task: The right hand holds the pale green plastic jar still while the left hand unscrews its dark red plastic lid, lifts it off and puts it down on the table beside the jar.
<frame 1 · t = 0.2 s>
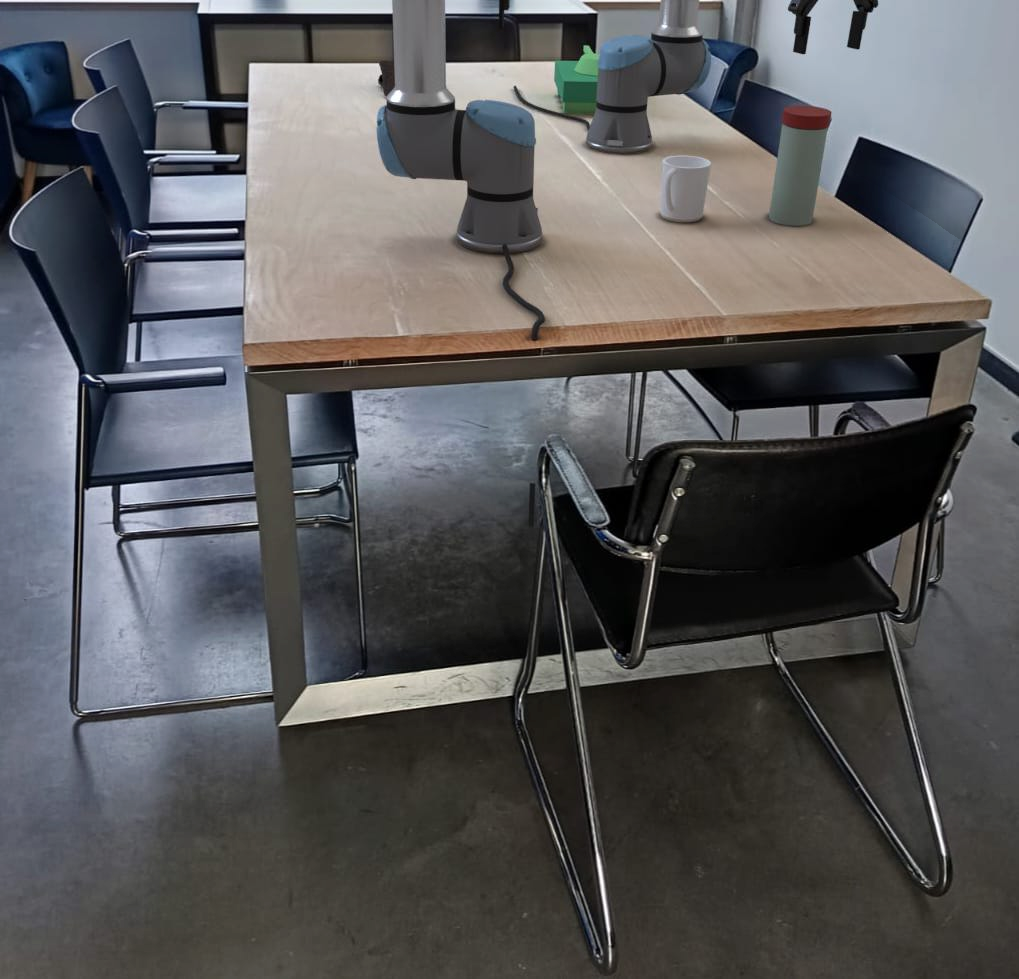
left hand: (468, 26, 224), 28 cm above the table, tool pointing down, fingers open, 13 cm apart
right hand: (826, 50, 209), 28 cm above the table, tool pointing down, fingers open, 13 cm apart
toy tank: (589, 102, 293), on the table
axe head: (403, 91, 300), on the table
lid: (807, 112, 199), point 20 cm above the table, screwed on, not yet turned
jar: (790, 219, 210), on the table
mug: (678, 218, 209), on the table
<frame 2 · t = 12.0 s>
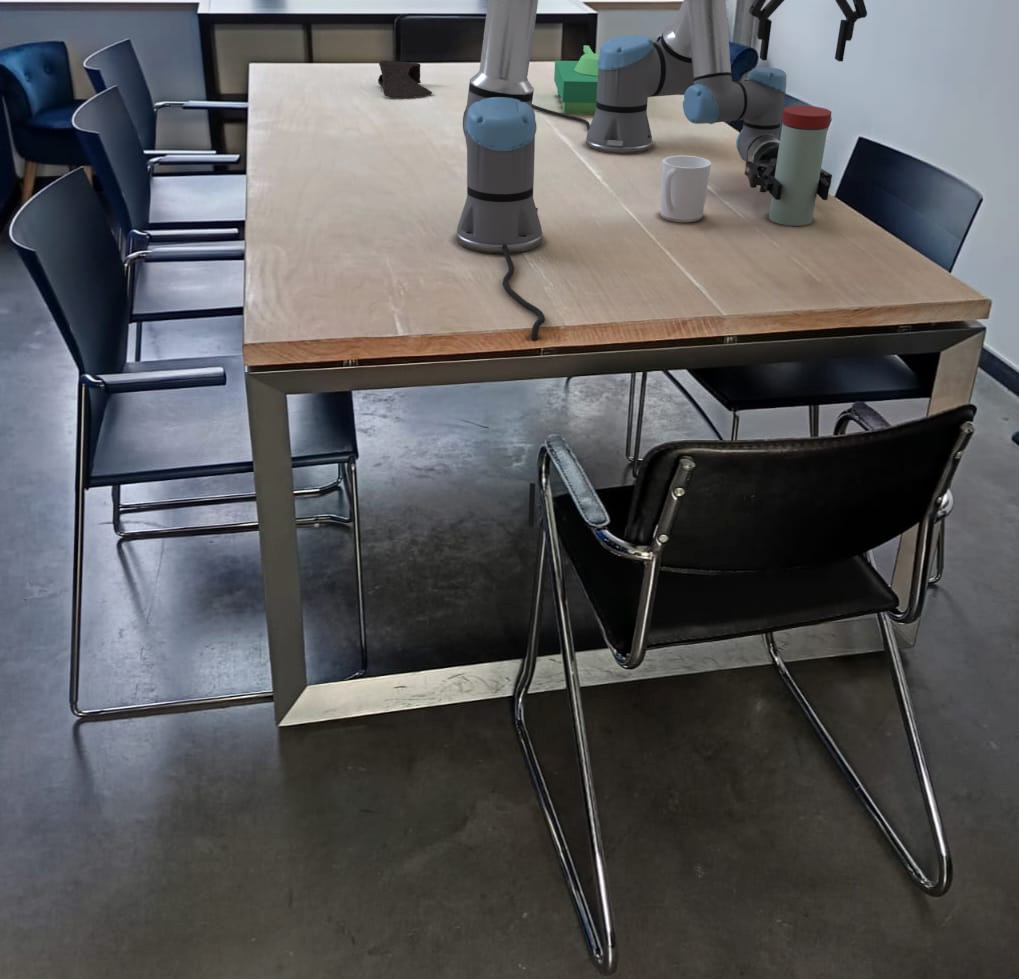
left hand: (800, 59, 196), 29 cm above the table, tool pointing down, fingers open, 13 cm apart
right hand: (802, 192, 202), 7 cm above the table, tool horizontal, fingers closed on jar, 8 cm apart
jar: (790, 219, 210), on the table, touching right hand
everything else where it was.
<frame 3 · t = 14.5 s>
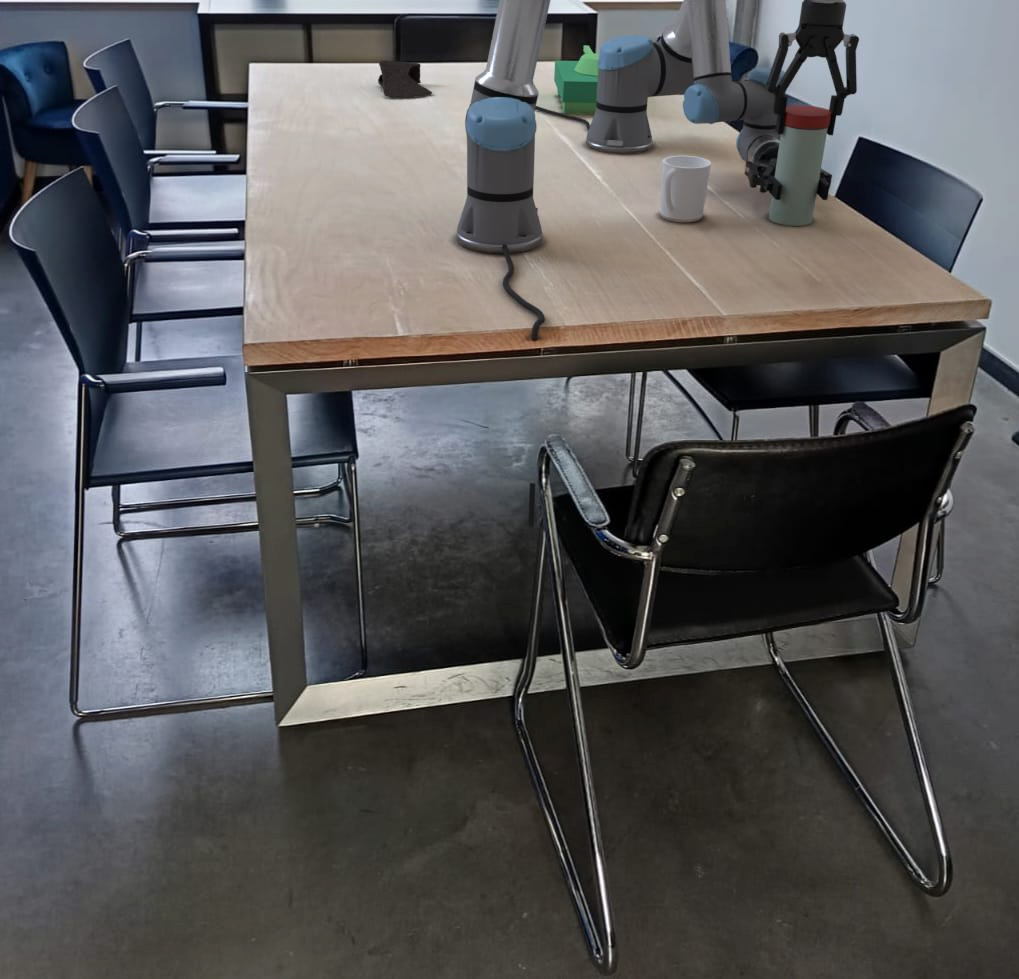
left hand: (803, 132, 201), 16 cm above the table, tool pointing down, fingers closed on lid, 9 cm apart
right hand: (802, 192, 202), 6 cm above the table, tool horizontal, fingers closed on jar, 8 cm apart
lid: (807, 112, 199), point 20 cm above the table, screwed on, not yet turned, touching left hand
jar: (790, 219, 210), on the table, touching right hand
everything else where it was.
when the left hand's fingers open (16 cm above the table, at t = 16.0 s): lid stays where it is, point 20 cm above the table.
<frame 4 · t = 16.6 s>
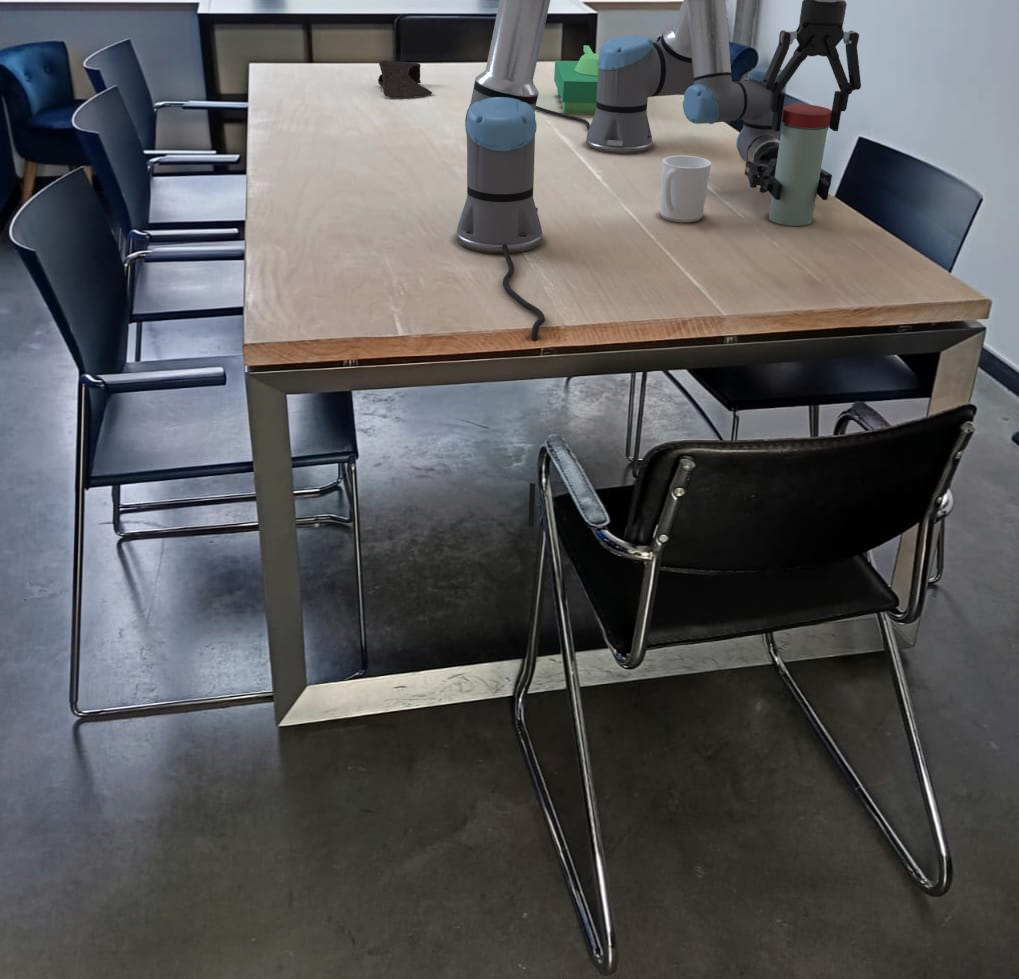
left hand: (804, 129, 201), 17 cm above the table, tool pointing down, fingers open, 10 cm apart
right hand: (802, 192, 202), 6 cm above the table, tool horizontal, fingers closed on jar, 8 cm apart
lid: (807, 111, 199), point 20 cm above the table, turned 73° so far, risen 0.2 cm, still on its thread
jar: (790, 219, 210), on the table, touching right hand
everything else where it was.
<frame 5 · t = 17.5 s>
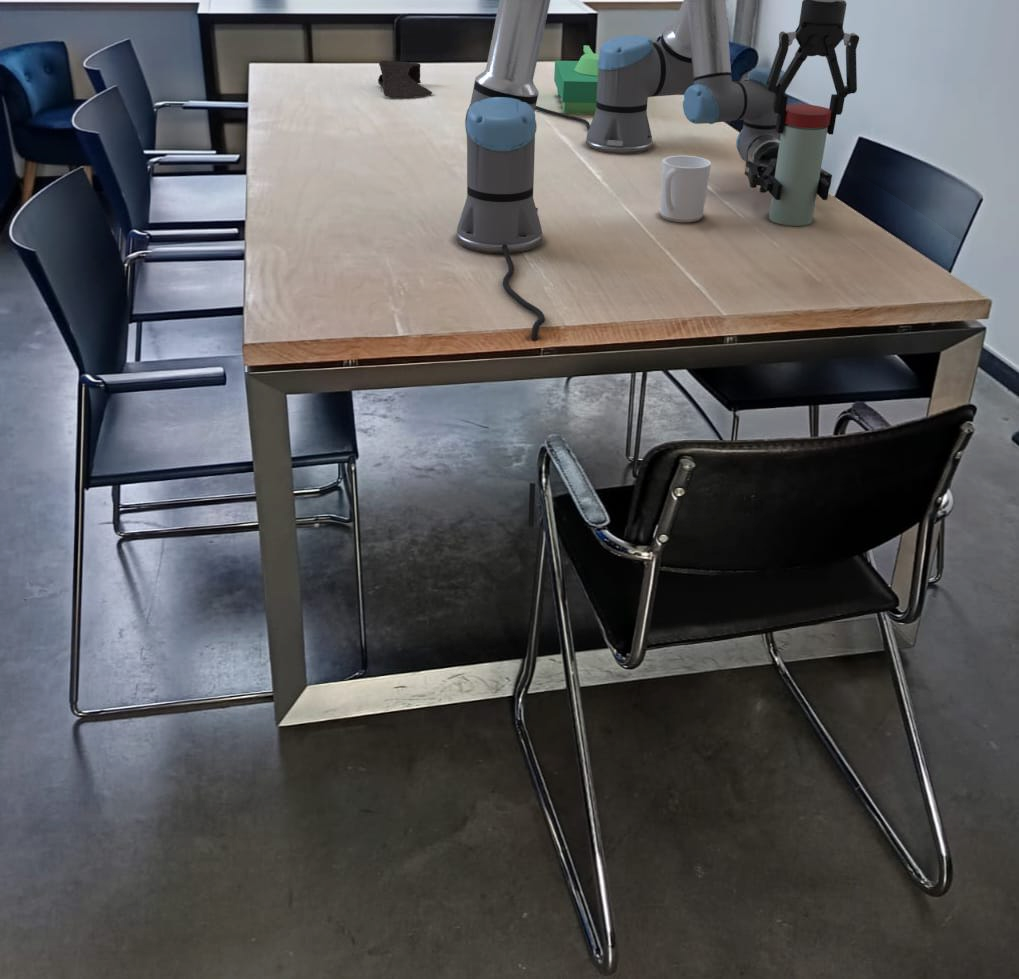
left hand: (804, 132, 201), 16 cm above the table, tool pointing down, fingers closed on lid, 9 cm apart
right hand: (802, 192, 202), 6 cm above the table, tool horizontal, fingers closed on jar, 8 cm apart
lid: (807, 111, 199), point 20 cm above the table, turned 73° so far, risen 0.2 cm, still on its thread, touching left hand
jar: (790, 219, 210), on the table, touching right hand
everything else where it was.
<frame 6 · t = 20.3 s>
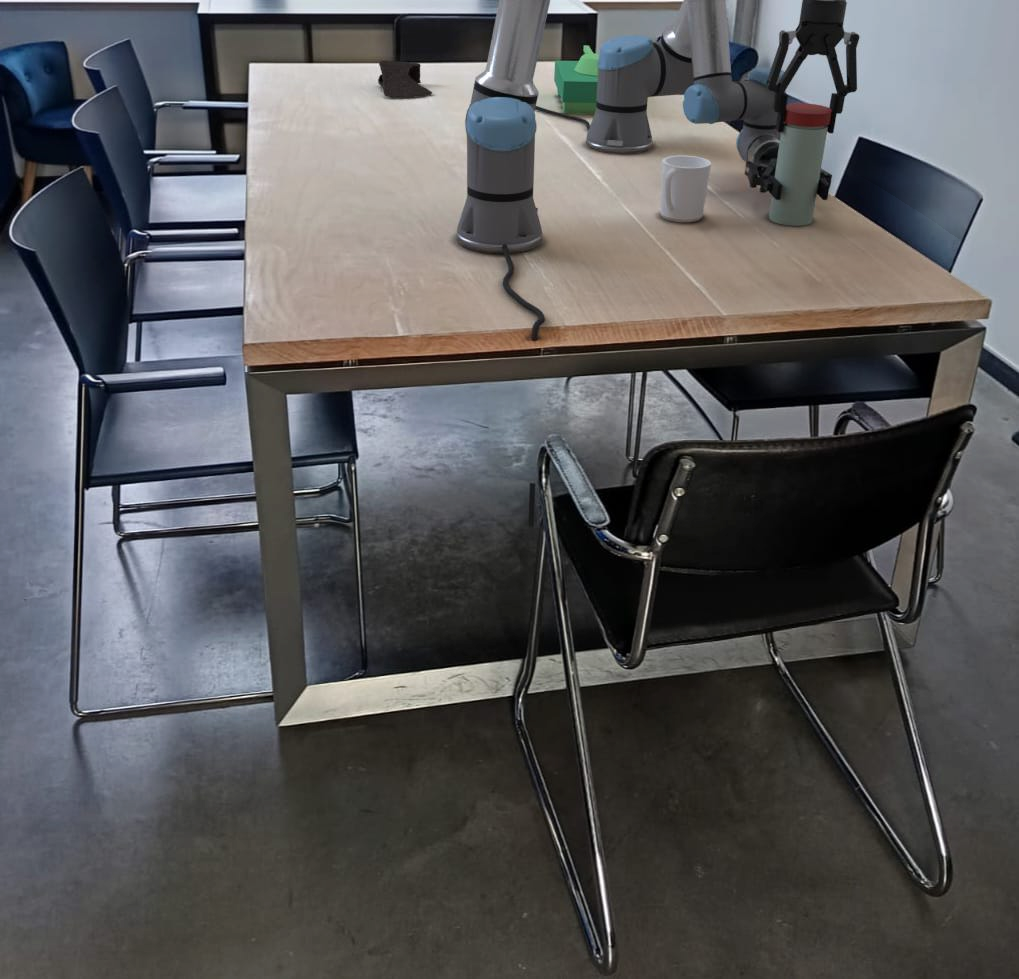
left hand: (804, 130, 201), 17 cm above the table, tool pointing down, fingers closed on lid, 9 cm apart
right hand: (802, 192, 202), 6 cm above the table, tool horizontal, fingers closed on jar, 8 cm apart
lid: (807, 110, 199), point 20 cm above the table, turned 146° so far, risen 0.4 cm, still on its thread, touching left hand
jar: (790, 219, 210), on the table, touching right hand
everything else where it was.
when the left hand's fingers open (0 cm above the table, at t = 27.2 s): lid drops 2 cm, point 2 cm above the table.
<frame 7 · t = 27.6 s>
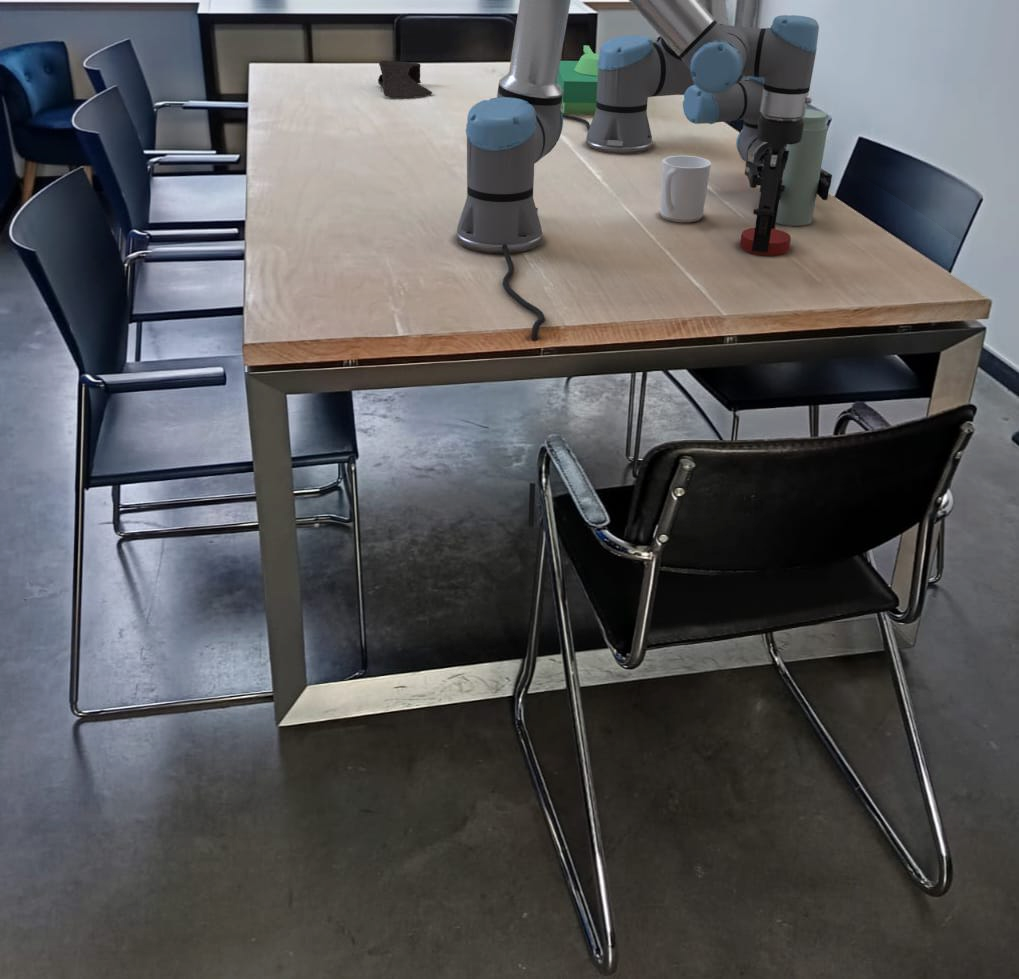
left hand: (763, 239, 195), 1 cm above the table, tool pointing down, fingers open, 13 cm apart
right hand: (802, 192, 202), 7 cm above the table, tool horizontal, fingers closed on jar, 8 cm apart
lid: (765, 237, 195), point 2 cm above the table, off its thread
jar: (790, 219, 210), on the table, touching right hand
everything else where it was.
when the right hand's fingers open (7 cm above the table, at t = 28.2 s): jar stays where it is, on the table.
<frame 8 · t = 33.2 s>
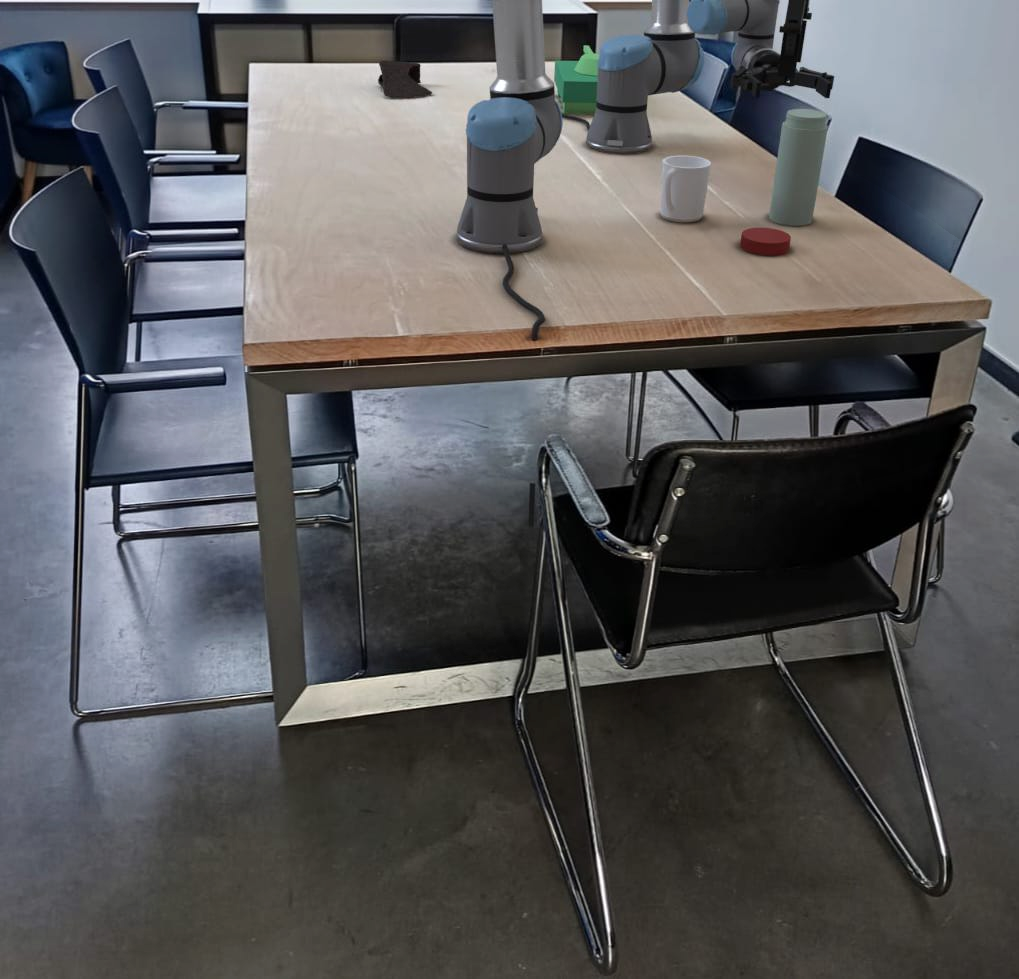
left hand: (789, 69, 180), 30 cm above the table, tool pointing down, fingers open, 13 cm apart
right hand: (793, 90, 207), 22 cm above the table, tool horizontal, fingers open, 13 cm apart
jar: (790, 219, 210), on the table
everything else where it was.
at the end: lid came off its thread; lid point 1.9 cm above the table; the left hand is holding nothing; the right hand is holding nothing; jar tilted 0°; jar moved 0.0 cm from its start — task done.
